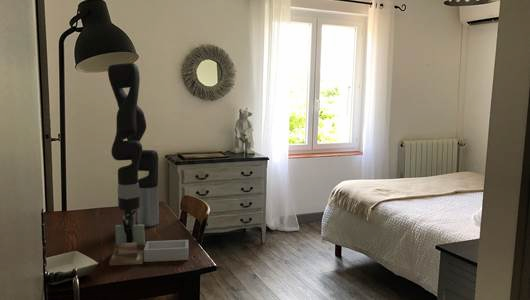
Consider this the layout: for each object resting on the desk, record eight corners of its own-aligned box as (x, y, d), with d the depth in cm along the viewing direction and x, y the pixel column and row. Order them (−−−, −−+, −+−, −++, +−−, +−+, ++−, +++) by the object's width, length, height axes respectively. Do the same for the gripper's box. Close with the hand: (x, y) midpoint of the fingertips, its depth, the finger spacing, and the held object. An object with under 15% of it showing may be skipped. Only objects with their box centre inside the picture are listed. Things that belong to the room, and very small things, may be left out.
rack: (116, 251, 174) (116, 242, 174) (146, 250, 176) (146, 241, 176) (109, 265, 161) (109, 255, 161) (142, 263, 163) (142, 254, 162)
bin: (147, 252, 174) (146, 241, 173) (188, 250, 176) (188, 239, 175) (144, 261, 165) (143, 250, 164) (188, 259, 167) (187, 248, 166)
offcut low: (117, 257, 165) (117, 250, 165) (137, 256, 166) (137, 249, 166) (115, 260, 161) (115, 253, 161) (136, 259, 162) (136, 253, 162)
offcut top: (119, 250, 164) (118, 243, 164) (136, 249, 166) (136, 242, 165) (118, 254, 161) (118, 247, 160) (136, 252, 162) (136, 245, 162)
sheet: (117, 248, 173) (116, 225, 172) (144, 247, 175) (144, 224, 173) (116, 250, 172) (115, 226, 170) (144, 249, 173) (143, 225, 172)
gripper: (121, 191, 177) (122, 235, 179) (114, 200, 163) (116, 248, 165) (141, 190, 178) (143, 234, 180) (136, 199, 164) (138, 247, 166)
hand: (130, 240), depth 173 cm, fingers open, 3 cm apart
